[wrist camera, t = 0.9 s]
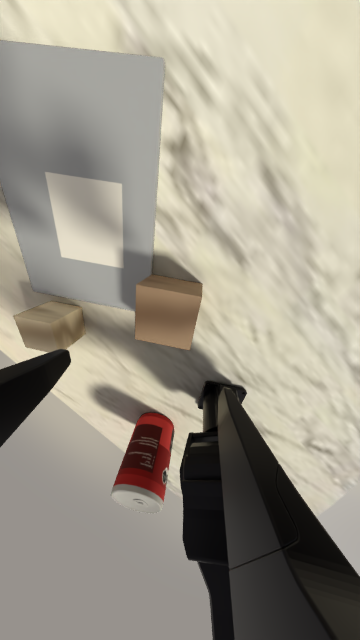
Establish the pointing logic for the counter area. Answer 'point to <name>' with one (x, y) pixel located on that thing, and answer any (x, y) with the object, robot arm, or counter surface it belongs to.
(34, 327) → the maple block
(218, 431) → the robot arm
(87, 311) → the counter surface
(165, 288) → the walnut block
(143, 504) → the canned food
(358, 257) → the counter surface
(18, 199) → the build mat
